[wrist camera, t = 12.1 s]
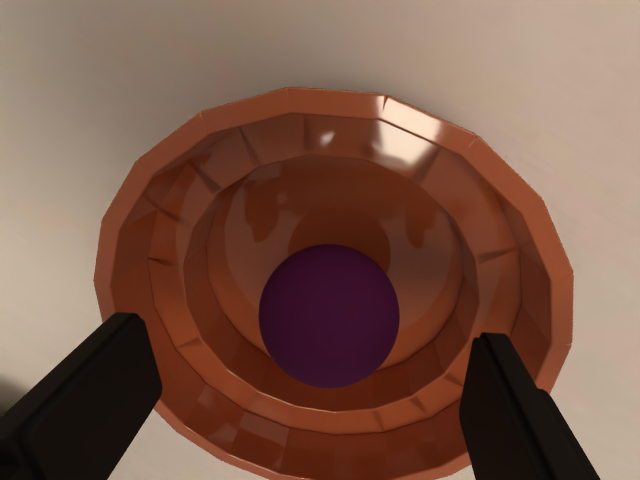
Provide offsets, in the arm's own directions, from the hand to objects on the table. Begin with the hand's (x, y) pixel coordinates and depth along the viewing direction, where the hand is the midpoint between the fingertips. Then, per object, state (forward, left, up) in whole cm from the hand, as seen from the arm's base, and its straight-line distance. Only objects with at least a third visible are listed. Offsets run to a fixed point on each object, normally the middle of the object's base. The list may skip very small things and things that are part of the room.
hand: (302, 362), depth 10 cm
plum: (0, 0, -6) cm, 6 cm away
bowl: (0, 0, -6) cm, 6 cm away
